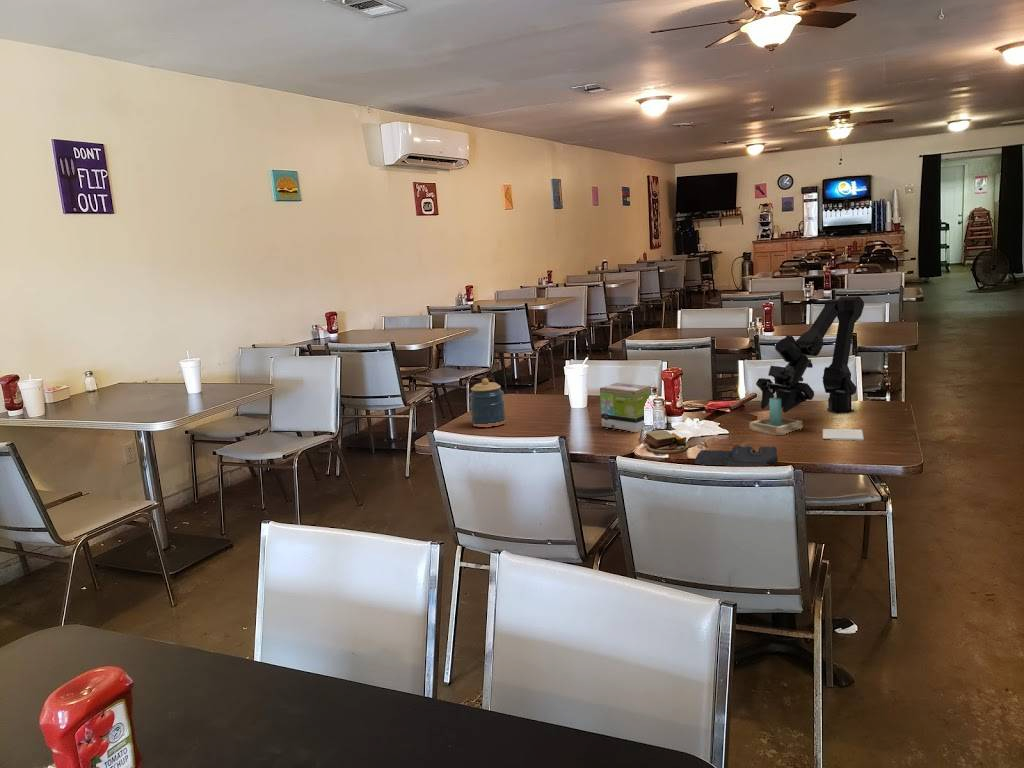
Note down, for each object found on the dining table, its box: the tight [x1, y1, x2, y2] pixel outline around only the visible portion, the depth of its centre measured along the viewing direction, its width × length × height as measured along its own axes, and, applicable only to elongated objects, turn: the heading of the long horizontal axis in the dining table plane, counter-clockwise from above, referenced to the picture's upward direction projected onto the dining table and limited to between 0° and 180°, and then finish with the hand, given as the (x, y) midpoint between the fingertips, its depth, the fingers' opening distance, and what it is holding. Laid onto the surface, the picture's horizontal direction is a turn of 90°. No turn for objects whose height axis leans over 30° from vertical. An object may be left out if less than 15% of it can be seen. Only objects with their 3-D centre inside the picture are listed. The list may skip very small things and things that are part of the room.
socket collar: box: [749, 416, 804, 436], centre depth 240 cm, size 11×11×2 cm
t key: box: [767, 397, 783, 427], centre depth 240 cm, size 4×7×10 cm, turn 33°
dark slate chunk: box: [694, 445, 779, 466], centre depth 208 cm, size 15×22×5 cm
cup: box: [773, 377, 790, 408], centre depth 271 cm, size 8×8×12 cm
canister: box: [468, 377, 507, 424], centre depth 279 cm, size 13×13×18 cm
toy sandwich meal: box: [643, 429, 689, 455], centre depth 229 cm, size 12×14×5 cm
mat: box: [822, 428, 865, 442], centre depth 227 cm, size 11×11×1 cm
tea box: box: [599, 382, 652, 431], centre depth 257 cm, size 15×10×15 cm, turn 45°
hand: (772, 410), depth 239 cm, fingers open, 8 cm apart
